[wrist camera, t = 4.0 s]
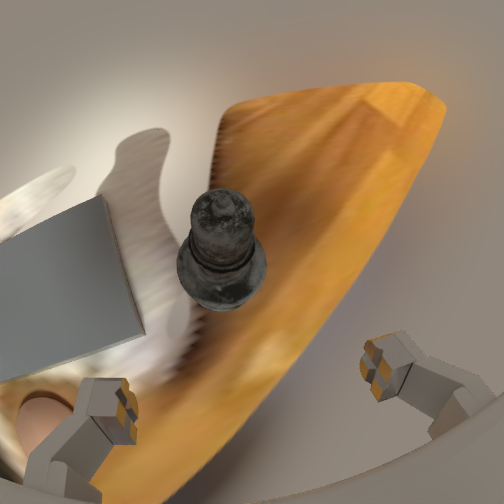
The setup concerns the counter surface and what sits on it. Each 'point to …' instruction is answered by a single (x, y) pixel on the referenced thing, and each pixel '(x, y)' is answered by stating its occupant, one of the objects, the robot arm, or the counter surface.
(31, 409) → the peach domed round part
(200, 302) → the black rounded upright piece
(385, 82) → the counter surface
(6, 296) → the slate board
